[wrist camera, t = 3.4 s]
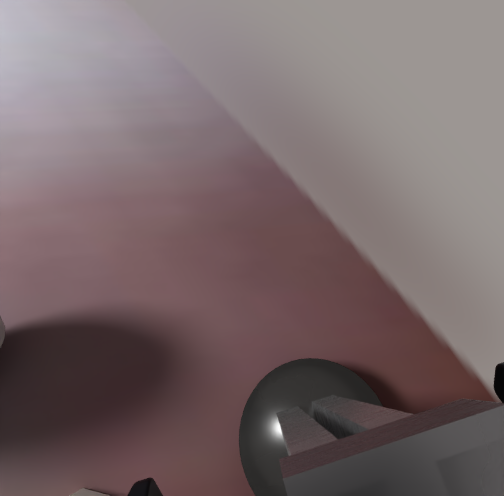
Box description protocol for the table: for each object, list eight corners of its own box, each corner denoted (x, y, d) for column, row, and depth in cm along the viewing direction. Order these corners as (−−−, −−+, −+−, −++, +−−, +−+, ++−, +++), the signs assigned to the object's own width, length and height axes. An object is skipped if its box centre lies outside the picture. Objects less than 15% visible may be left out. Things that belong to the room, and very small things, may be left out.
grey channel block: (349, 343, 16) (557, 259, 5) (405, 490, 14) (1060, 1010, 2) (226, 382, 15) (124, 391, 4) (264, 539, 13) (265, 1434, 2)
